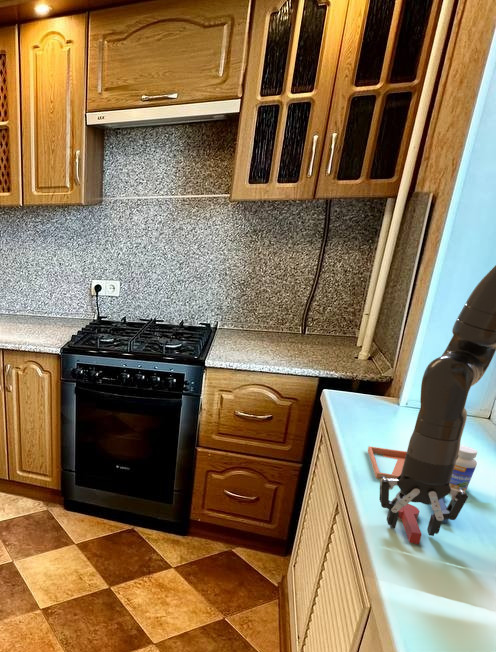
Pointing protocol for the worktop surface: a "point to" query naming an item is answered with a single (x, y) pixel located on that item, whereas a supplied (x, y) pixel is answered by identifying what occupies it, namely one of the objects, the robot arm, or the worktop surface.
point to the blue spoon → (443, 507)
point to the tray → (390, 454)
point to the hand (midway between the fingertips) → (410, 529)
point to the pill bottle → (463, 468)
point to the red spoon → (410, 522)
